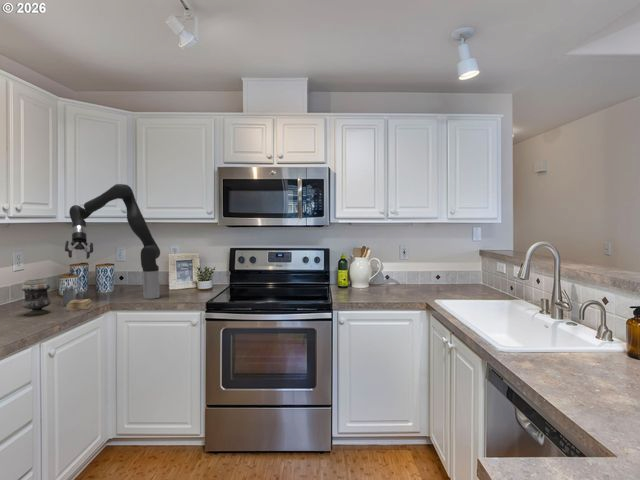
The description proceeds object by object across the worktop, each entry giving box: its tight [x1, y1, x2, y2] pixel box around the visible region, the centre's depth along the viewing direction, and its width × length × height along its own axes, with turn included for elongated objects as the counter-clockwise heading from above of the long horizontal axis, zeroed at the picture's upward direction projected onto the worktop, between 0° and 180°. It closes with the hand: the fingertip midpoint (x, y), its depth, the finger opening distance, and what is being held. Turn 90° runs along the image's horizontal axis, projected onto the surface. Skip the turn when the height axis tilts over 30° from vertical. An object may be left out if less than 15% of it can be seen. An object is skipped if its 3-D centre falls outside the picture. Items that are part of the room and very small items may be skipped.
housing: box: [61, 285, 77, 307], centre depth 210 cm, size 6×6×11 cm
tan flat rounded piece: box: [65, 298, 93, 312], centre depth 203 cm, size 10×10×4 cm
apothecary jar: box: [21, 278, 52, 317], centre depth 191 cm, size 12×12×18 cm
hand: (79, 257), depth 216 cm, fingers open, 8 cm apart
